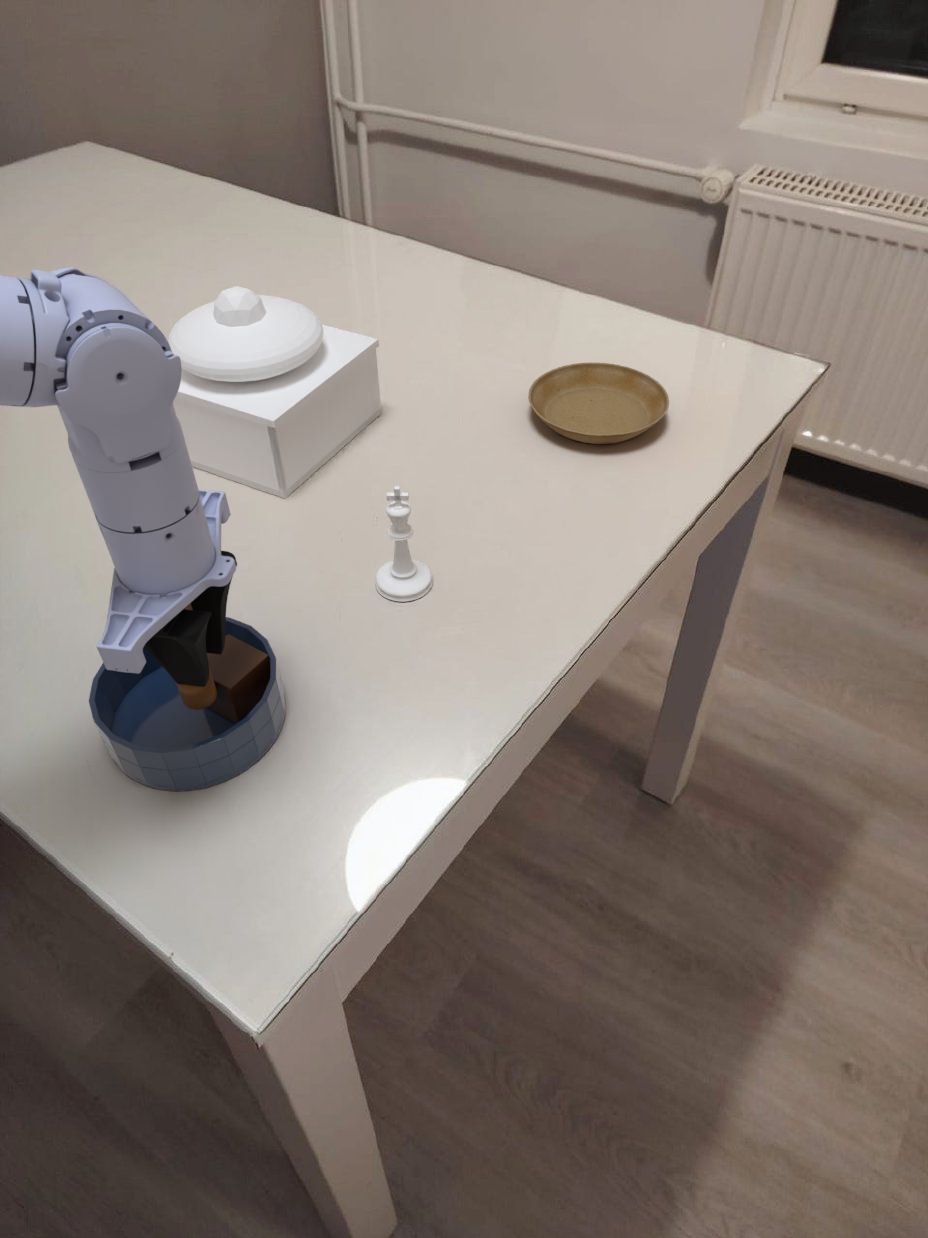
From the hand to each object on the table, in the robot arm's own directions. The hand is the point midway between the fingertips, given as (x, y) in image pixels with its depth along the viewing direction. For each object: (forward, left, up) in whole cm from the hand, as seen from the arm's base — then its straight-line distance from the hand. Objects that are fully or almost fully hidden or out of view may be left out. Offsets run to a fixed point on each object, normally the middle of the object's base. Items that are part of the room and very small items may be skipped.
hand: (200, 665), depth 58 cm
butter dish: (-9, +39, -8) cm, 41 cm away
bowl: (-2, +1, -7) cm, 8 cm away
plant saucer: (+25, +47, -8) cm, 54 cm away
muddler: (-1, 0, -3) cm, 3 cm away
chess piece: (+10, +18, -8) cm, 22 cm away
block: (0, +3, -7) cm, 7 cm away
